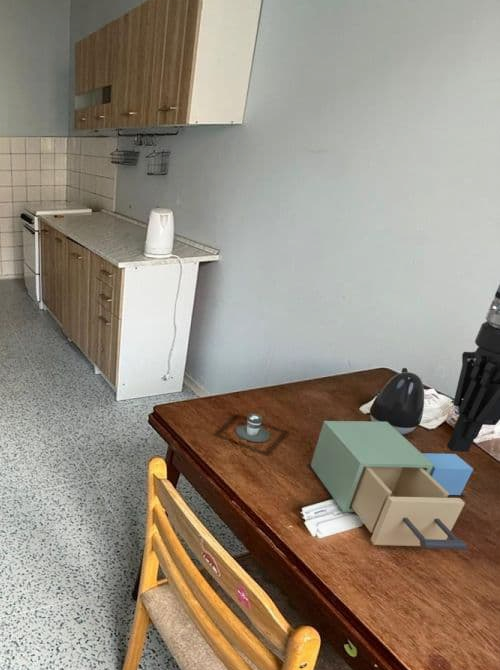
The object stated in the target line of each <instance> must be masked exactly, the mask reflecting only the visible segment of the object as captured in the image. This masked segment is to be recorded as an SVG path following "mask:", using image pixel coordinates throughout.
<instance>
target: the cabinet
mask: <svg viewBox="0 0 500 670" xmlns="http://www.w3.org/2000/svg"><path fill="white" fill-rule="evenodd" d="M422 453H423V452H421V451H420V450H419V449H417V447H416V446H414V445H413V444H412V443H411V442H410V441H409V440H408V439H407V438H406V437H405V436H403V435H401V434H400V433H399V432H398V431H397V430H396V429H394V428H393V427H392V426H391V425H390V424H389V423H388V422H372V421H371V420H370V421H365V420H363V421H361V420H357V421H356V420H323V423H322V426H321V430H320V433H319V436H318V439H317V443H316V446H315V450H314V453H313V456H312V458H311V459H312V460H311V463H310V467H311V469H312V470H313V471H314V473H315V474H316V475H317V477H318V478H319V480H320V481H321V483H322V484H323V486H324V488H326V490H327V491H328V493H329V494H330V495H331V497H332V498H333V500H334V502H336V504H337V505H338V507H339V508H340V509H341V511H342V512H343V513H356V512H355V511H354V509H353V508H352V507H351V505H350V504H351V501H352V498H353V495H354V493H355V490H356V487H357V484H358V482H359V479H360V476H361V473H362V471H363V468H364V467H411V468H423V469H424V470H425V471H426V472H427V473H428V474H430V472H431V470H432V467H433V465H434V464H433V463H432V462H431V461H429V460H428V459H427V458H426V457H425V456H424V455H423V454H422Z"/></svg>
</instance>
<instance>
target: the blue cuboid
mask: <svg viewBox="0 0 500 670" xmlns="http://www.w3.org/2000/svg"><path fill="white" fill-rule="evenodd" d="M421 453H422V454H423V455H424V456H425V457H426V458H427V459H428V460H429V461H431V462H432V463H433V464H434V465H433V467H432V470H431V472H430V474H429V475H431V476H432V477H433V478H434V479H435V480H436V481H437V482H438V483H439V484H440V485H441V486H442V487H443V488H444V489H445V490H446V491H447V492H448V493H449V496H461V495H462V493H463V491H464V489H465V487H466V485H467V484H468V481H469V479H470V476H471V475H472V473H473V470H474V468H473V467H472V466H471V465H469V463H467V461H465V460H463V459H462V458H461V457H460V456H459V455H457V454H456V453H430V452H429V453H428V452H426V453H423V452H421Z"/></svg>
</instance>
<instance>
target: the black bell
mask: <svg viewBox="0 0 500 670" xmlns="http://www.w3.org/2000/svg"><path fill="white" fill-rule="evenodd" d="M424 409H425V388H424V384H423V381H422V378H421V377H420V376H419V375H418V374H415V373H414V372H410V371H408V368H407V367H403V368H401V372H399V373H397V374H395V375H394V376H393V377H392V378H390V380H388V381H387V383H386V384H385V385H384V386H383V387H382V388H381V390H380V391H379V392H378V393H377V395H376V397H375V399H374V400H373V401H372V404H371V406H370V408H369V415H370V421H372V422H388V423H389V424H390V425H391V426H392V427H393V428H394V429H396V430H397V431H398V432H399V433H400V434H401V435H402V436H403V435H406V434H409V433H411V432H413V431H414V430H416V428H417V427H418V426H420V425H421V423H422V419H423V415H424Z"/></svg>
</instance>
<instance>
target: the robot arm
mask: <svg viewBox="0 0 500 670" xmlns="http://www.w3.org/2000/svg"><path fill="white" fill-rule="evenodd" d="M484 319H485V320H486V321H485V322H483V323H481V325H480V328H479V330H478V333H477V335H476V337H475V340H474V343H475V345H476V346H477V348H476V349H475V351H464V352H462V354H461V364H462V365H461V369H460V373H459V377H458V381H457V386H456V390H455V394H454V399H453V406H454V407H457V408H458V410H457V412H458V416H457V419H456V422H455V424H454V427H453V428H454V429H453V431H452V433H451V436H450V438H449V441H448V442H447V445H446V447H447V448H448V449H449V450H450V452H461V453H469V451H470V449H471V446H472V445H473V443H474V441H475V440H476V439H477V438H478V437H479V434H480V432H481V430H482V428H483V426H485V425H486V426H487V425H488V426H496V425H497V424H498V423H499V421H500V284H499V285H498V287H497V289H496V291H495V294H494V297H493V300H492V301H491V304H490V306H489V308H488V310H487V313H486V315H485V317H484Z"/></svg>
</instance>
